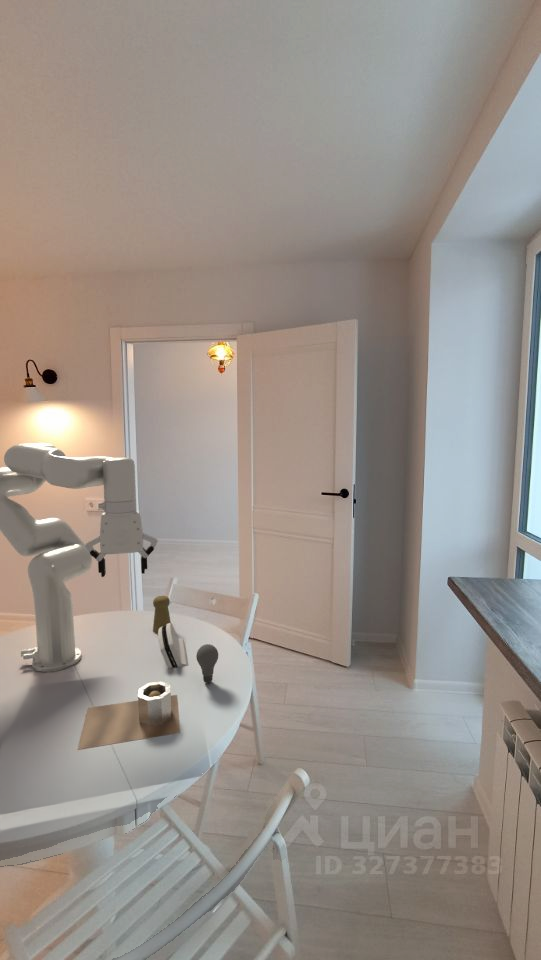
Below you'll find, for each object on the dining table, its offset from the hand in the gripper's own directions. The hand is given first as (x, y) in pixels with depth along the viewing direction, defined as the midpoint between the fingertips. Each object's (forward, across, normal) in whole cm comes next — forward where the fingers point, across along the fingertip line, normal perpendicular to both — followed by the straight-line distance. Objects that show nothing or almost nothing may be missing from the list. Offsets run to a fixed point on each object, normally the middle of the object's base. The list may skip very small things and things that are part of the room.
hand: (123, 573), depth 114 cm
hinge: (+29, +12, +8) cm, 32 cm away
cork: (+28, +9, +28) cm, 41 cm away
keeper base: (+28, +2, -20) cm, 35 cm away
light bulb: (+28, +20, -7) cm, 36 cm away
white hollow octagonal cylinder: (+27, +7, -20) cm, 34 cm away
